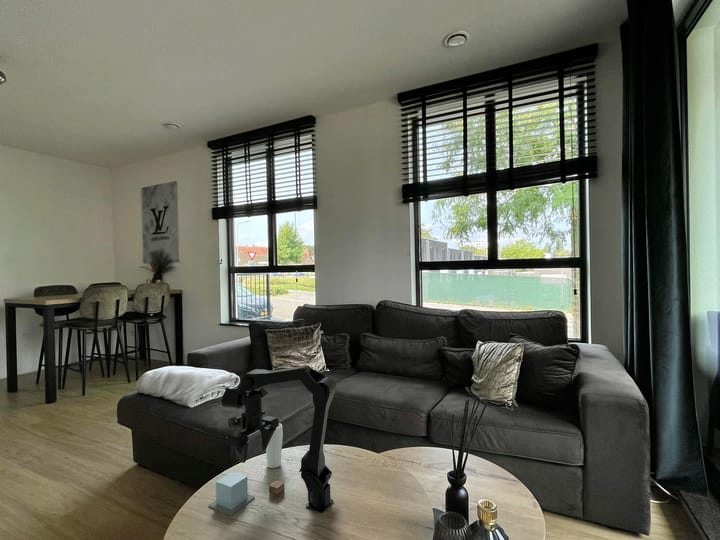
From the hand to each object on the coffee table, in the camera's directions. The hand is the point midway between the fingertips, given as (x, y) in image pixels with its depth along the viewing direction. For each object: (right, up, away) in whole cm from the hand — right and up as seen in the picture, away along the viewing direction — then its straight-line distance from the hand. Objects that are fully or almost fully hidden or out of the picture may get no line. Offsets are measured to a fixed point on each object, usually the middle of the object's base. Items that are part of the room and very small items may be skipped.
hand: (254, 456), depth 121 cm
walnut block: (+7, -13, 0) cm, 15 cm away
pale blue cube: (-6, -13, -3) cm, 14 cm away
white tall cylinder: (+2, -14, +19) cm, 24 cm away
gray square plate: (-6, -13, -4) cm, 15 cm away
